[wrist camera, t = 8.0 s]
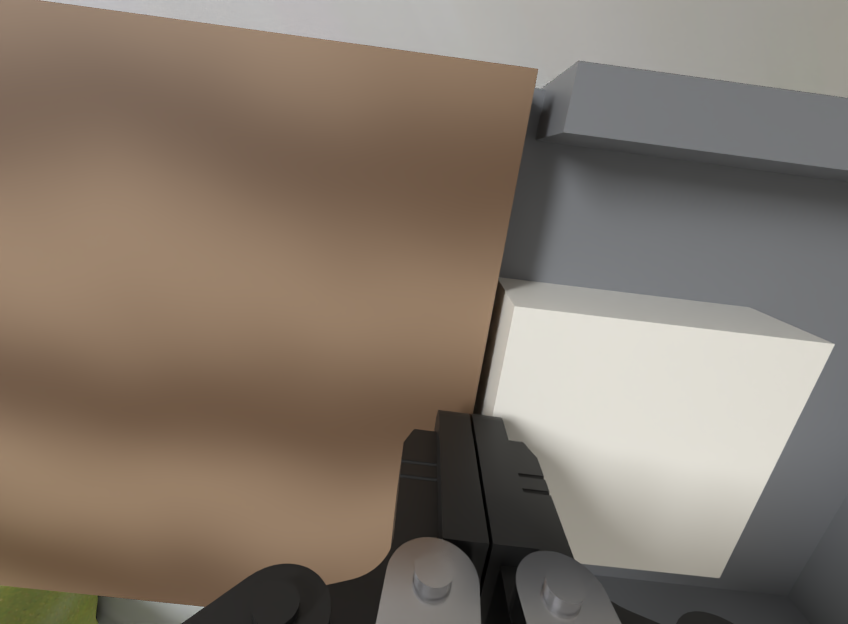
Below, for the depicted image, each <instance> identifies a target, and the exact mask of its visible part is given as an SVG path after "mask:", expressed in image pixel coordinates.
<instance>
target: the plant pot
mask: <svg viewBox="0 0 848 624" xmlns="http://www.w3.org/2000/svg"><path fill="white" fill-rule="evenodd" d="M97 602H98V596H97V595H88V594H78V593H69V592H59V591H49V590H40V589H30V588H20V587H11V586H1V585H0V624H98V621H97V620H96V609H97Z"/></svg>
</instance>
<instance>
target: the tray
mask: <svg viewBox="0 0 848 624" xmlns="http://www.w3.org/2000/svg"><path fill="white" fill-rule="evenodd" d="M499 277H501V278H509V279H518V280H526V281H534V282H543V283H551V284H559V285H568V286H576V287H584V288H593V289H601V290H609V291H618V292H626V293H634V294H643V295H651V296H659V297H668V298H676V299H684V300H693V301H701V302H709V303H718V304H726V305H734V306H743V307H750V308H752V309H755V310H757V311H759V312H762V313H764V314H766V315H769V316H771V317H773V318H776V319H778V320H780V321H782V322H785V323H787V324H789V325H792V326H794V327H796V328H799V329H801V330H803V331H806V332H808V333H810V334H813V335H815V336H817V337H820V338H822V339H824V340H826V341H829V342H831V343H833V344H835V345H834V347H833V349H832V351H831V353H830V355H829V357H828V359H827V362H826V364H825V366H824V368H823V370H822V372H821V374H820V376H819V378H818V380H817V382H816V384H815V386H814V388H813V390H812V392H811V394H810V396H809V398H808V400H807V402H806V404H805V406H804V408H803V410H802V412H801V414H800V416H799V418H798V420H797V422H796V424H795V426H794V428H793V430H792V432H791V434H790V436H789V438H788V440H787V443H786V445H785V447H784V449H783V451H782V453H781V455H780V457H779V459H778V461H777V463H776V465H775V467H774V469H773V471H772V473H771V475H770V477H769V479H768V481H767V483H766V485H765V487H764V489H763V491H762V493H761V495H760V497H759V499H758V501H757V503H756V505H755V507H754V509H753V511H752V513H751V515H750V517H749V519H748V521H747V523H746V526H745V528H744V530H743V532H742V534H741V536H740V538H739V540H738V542H737V544H736V546H735V548H734V550H733V552H732V554H731V556H730V558H729V560H728V562H727V564H726V566H725V568H724V570H723V572H722V574H721V576H720V578H713V577H703V576H694V575H684V574H675V573H665V572H656V571H646V570H636V569H627V568H617V567H608V566H598V565H589V564H582V565H583V566H585V567H586V568H587V569H588V570H589V571H590V572H591V573H592V574H593V575H594V576H595V577H596V578H597V579H598V581H599V582H600V583H601V585H602V586H603V588H604V590H605V591H606V593H607V595H608V597H609V599H610V601H612V602H614V603H615V604H617V605H619V606H621V607H623V608H625V609H627V610H629V611H631V612H634V613H636V614H638V615H641V616H643V617H645V618H648V619H650V620H653V621H655V622H657V623H660V624H676V623H677V621H678V619H679V618H680V617H681V616H682V615H683V614H685V613H688V612H693V611H701V612H707V613H711V614H714V615H717V616H719V617H722V618H724V619H726V620H728V621H730V622H732V623H733V624H848V98H844V97H837V96H830V95H823V94H815V93H808V92H801V91H794V90H786V89H779V88H772V87H765V86H758V85H750V84H743V83H736V82H729V81H721V80H714V79H707V78H700V77H693V76H685V75H678V74H671V73H664V72H656V71H649V70H642V69H635V68H628V67H620V66H613V65H606V64H599V63H591V62H584V61H578V62H576V63H575V64H574V65H572V66H571V67H570V68H568V69H567V70H566V71H564V72H563V73H562V74H560V75H559V76H558V77H556V78H555V79H554V80H552V81H551V82H550V83H548V84H547V85H546V86H544V87H543V88H541V89H538V88H535V89H534V94H533V99H532V104H531V110H530V115H529V120H528V125H527V131H526V136H525V141H524V146H523V152H522V157H521V162H520V168H519V173H518V178H517V183H516V189H515V194H514V199H513V204H512V210H511V215H510V220H509V226H508V231H507V236H506V241H505V247H504V252H503V257H502V262H501V268H500V273H499Z"/></svg>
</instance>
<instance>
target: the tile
mask: <svg viewBox="0 0 848 624" xmlns="http://www.w3.org/2000/svg"><path fill="white" fill-rule="evenodd" d="M834 345H835V344H833V343H831V342H829V341H826V340H824V339H822V338H820V337H817V336H815V335H813V334H810V333H808V332H806V331H803V330H801V329H799V328H796V327H794V326H792V325H789V324H787V323H785V322H782V321H780V320H778V319H776V318H773V317H771V316H769V315H766V314H764V313H762V312H759V311H757V310H755V309H752V308H750V307H743V306H734V305H726V304H718V303H709V302H701V301H693V300H684V299H676V298H668V297H659V296H651V295H643V294H634V293H626V292H618V291H609V290H601V289H593V288H584V287H576V286H568V285H559V284H551V283H543V282H534V281H526V280H518V279H509V278H501V277H499V278H498V284H497V289H496V294H495V299H494V305H493V310H492V315H491V320H490V326H489V331H488V336H487V342H486V347H485V352H484V357H483V363H482V368H481V373H480V378H479V384H478V389H477V394H476V400H475V405H474V410H473V414H478V415H486V416H494V417H501V418H502V419H503V422H504V425H505V429H506V433H507V436H508V440H511V441H519V442H523V443H524V444H525V445H526V446H527V447H528V448H529V449H530V450H531V452H532V453H533V454H534V455H535V456H536V457H537V459H538V461H539V464H540V467H541V469H542V472H543V475H544V480H546V483H547V486H548V489H549V491H550V492H549V495H551V497H552V500H553V502H554V505H555V508H556V510H557V513H558V516H559V519H560V521H561V524H562V527H563V530H564V532H565V535H566V538H567V540H568V543H569V546H570V549H571V551H572V554H573V557H574V559H575V560H576V561H578V562H579V563H581V564H589V565H598V566H608V567H617V568H627V569H636V570H646V571H656V572H665V573H675V574H684V575H694V576H703V577H713V578H720V576H721V574H722V572H723V570H724V568H725V566H726V564H727V562H728V560H729V558H730V556H731V554H732V552H733V550H734V548H735V546H736V544H737V542H738V540H739V538H740V536H741V534H742V532H743V530H744V528H745V526H746V523H747V521H748V519H749V517H750V515H751V513H752V511H753V509H754V507H755V505H756V503H757V501H758V499H759V497H760V495H761V493H762V491H763V489H764V487H765V485H766V483H767V481H768V479H769V477H770V475H771V473H772V471H773V469H774V467H775V465H776V463H777V461H778V459H779V457H780V455H781V453H782V451H783V449H784V447H785V445H786V443H787V440H788V438H789V436H790V434H791V432H792V430H793V428H794V426H795V424H796V422H797V420H798V418H799V416H800V414H801V412H802V410H803V408H804V406H805V404H806V402H807V400H808V398H809V396H810V394H811V392H812V390H813V388H814V386H815V384H816V382H817V380H818V378H819V376H820V374H821V372H822V370H823V368H824V366H825V364H826V362H827V359H828V357H829V355H830V353H831V351H832V349H833V347H834Z"/></svg>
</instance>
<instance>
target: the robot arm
mask: <svg viewBox="0 0 848 624" xmlns="http://www.w3.org/2000/svg"><path fill="white" fill-rule="evenodd" d="M549 492H550V491H549V489H548V486H547V483H546V480H544V475H543V472H542V469H541V467H540V464H539V461H538V459H537V457H536V456H535V455H534V454H533V453H532V452H531V450H530V449H529V448H528V447H527V446H526V445H525V444H524V443H523V442H519V441H511V440H508V436H507V433H506V429H505V425H504V422H503V419H502V418H501V417H494V416H486V415H478V414H470V415H469V414H468V413H461V412H452V411H444V410H438V412H437V416H436V422H435V428H434V431H427V430H419V429H414V430H413V431H412V432H411V433H410V435H409V436H408V437H407V438H406V440H405V441H404V442H403V450H402V457H401V465H400V472H399V480H398V487H397V494H396V503H395V512H394V521H393V531H392V540H391V548H390V551H389V552H388V554H387V556H386V557H385V559H384V560H383V561H382V562H381V563H380V564H379V565H378V566H377V567H376V568H375V569H373V570H372V571H370V572H369V573H367V574H365V575H363V576H360V577H358V578H354V579H351V580H347V581H342V582H338V583H333V584H329V585H326V584H325V582H324V581H323V580H322V578H321V577H320V576H319V575H318V574H317V573H316V572H314V571H313V570H311V569H309V568H307V567H305V566H302V565H298V564H277V565H272V566H269V567H265V568H263V569H261V570H259V571H257V572H255V573H253V574H252V575H250V576H248V577H247V578H246V579H244V580H243V581H241V582H240V583H238V584H237V585H236V586H234V587H233V588H231V589H230V590H229V591H227V592H226V593H224V594H223V595H221V596H220V597H219V598H217V599H216V600H214V601H213V602H212V603H210V604H209V605H207V606H206V607H204V608H203V609H202V610H200V611H199V612H197V613H196V614H195V615H193V616H192V617H190V618H189V619H187V620H186V621H185V622H183V623H182V624H660V623H657V622H655V621H653V620H650V619H648V618H645V617H643V616H641V615H638V614H636V613H634V612H631V611H629V610H627V609H625V608H623V607H621V606H619V605H617V604H615V603H614V602H612V601H610V599H609V597H608V595H607V593H606V591H605V590H604V588H603V586H602V585H601V583H600V582H599V581H598V579H597V578H596V577H595V576H594V575H593V574H592V573H591V572H590V571H589V570H588V569H587V568H586V567H585V566H583V565H582V564H581V563H579V562H578V561H576V560H575V559H574V557H573V554H572V551H571V549H570V546H569V543H568V540H567V538H566V535H565V532H564V530H563V527H562V524H561V521H560V519H559V516H558V513H557V510H556V508H555V505H554V502H553V500H552V497H551V495H549ZM676 624H733V623H732V622H730V621H728V620H726V619H724V618H722V617H719V616H717V615H714V614H711V613H707V612H701V611H693V612H688V613H685V614H683V615H682V616H681V617H680V618H679V619H678V621H677V623H676Z"/></svg>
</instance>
